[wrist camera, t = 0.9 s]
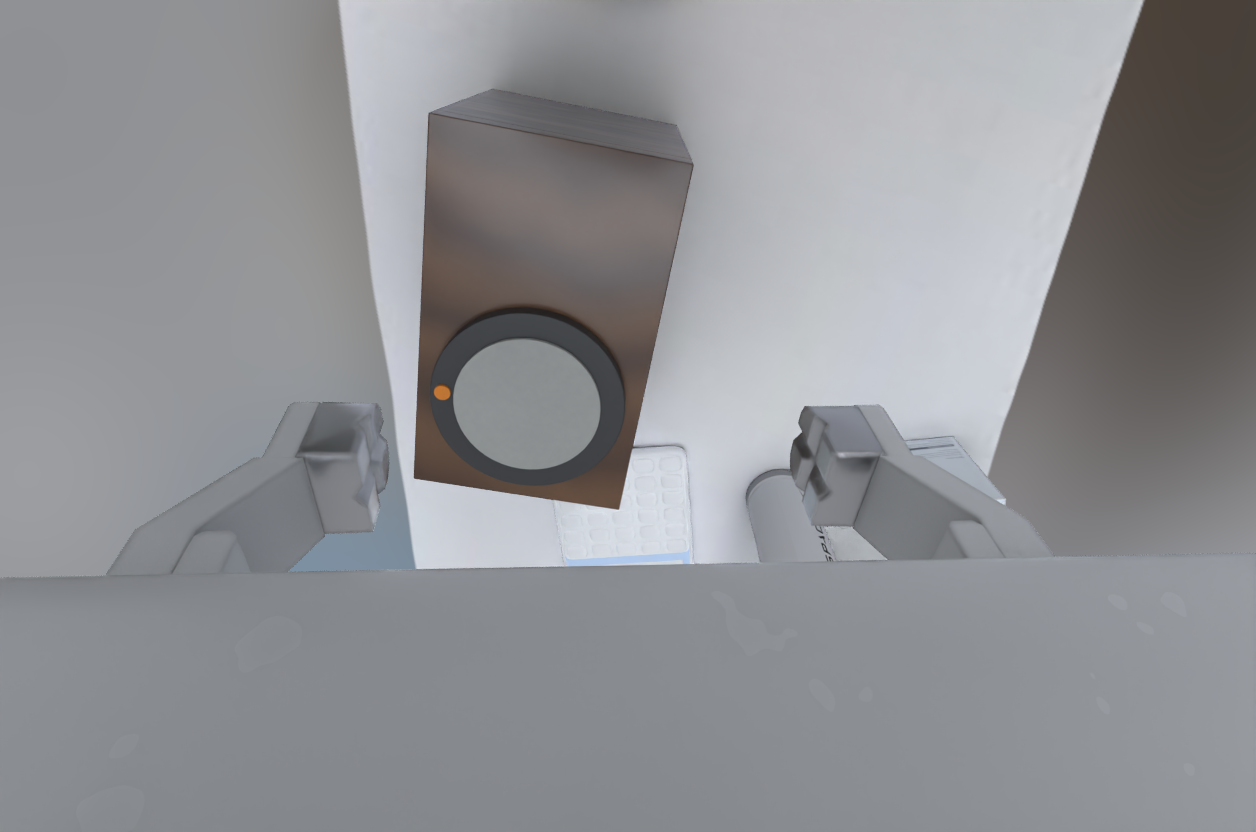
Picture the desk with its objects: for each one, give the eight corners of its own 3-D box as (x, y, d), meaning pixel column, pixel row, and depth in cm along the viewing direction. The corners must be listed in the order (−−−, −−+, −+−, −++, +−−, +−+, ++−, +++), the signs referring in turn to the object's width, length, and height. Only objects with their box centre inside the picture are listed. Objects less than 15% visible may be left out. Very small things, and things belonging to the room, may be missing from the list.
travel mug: (754, 529, 71) (792, 691, 53) (739, 477, 68) (774, 631, 50) (815, 514, 70) (874, 675, 52) (802, 461, 67) (861, 612, 49)
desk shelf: (491, 88, 52) (428, 112, 36) (676, 125, 53) (693, 163, 37) (469, 366, 63) (413, 478, 47) (623, 392, 64) (619, 510, 48)
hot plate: (438, 290, 41) (432, 298, 39) (641, 326, 41) (641, 334, 40) (429, 462, 46) (424, 473, 45) (608, 490, 47) (607, 501, 46)
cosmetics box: (946, 523, 70) (993, 597, 61) (881, 529, 71) (918, 603, 62) (957, 434, 65) (1010, 499, 56) (887, 440, 66) (928, 506, 57)
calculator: (685, 442, 66) (687, 452, 64) (695, 600, 76) (697, 613, 74) (546, 452, 67) (544, 463, 65) (573, 607, 76) (572, 620, 75)
